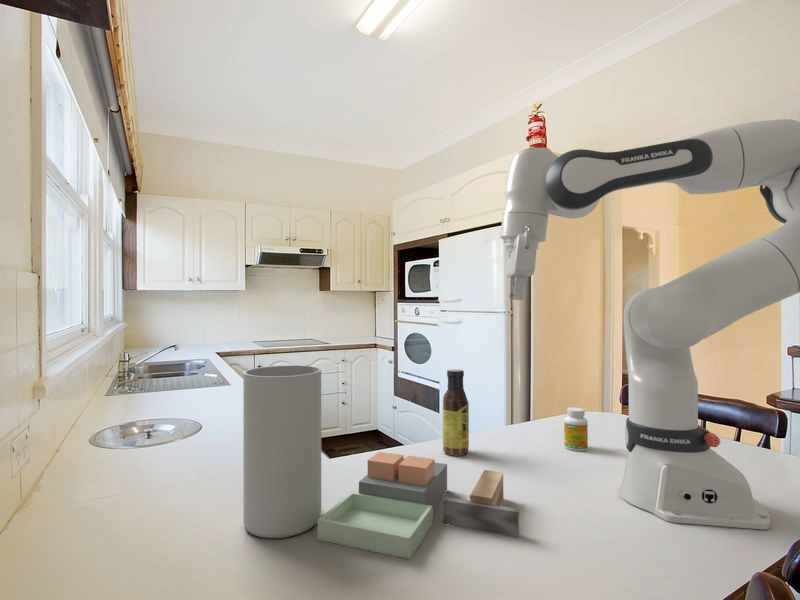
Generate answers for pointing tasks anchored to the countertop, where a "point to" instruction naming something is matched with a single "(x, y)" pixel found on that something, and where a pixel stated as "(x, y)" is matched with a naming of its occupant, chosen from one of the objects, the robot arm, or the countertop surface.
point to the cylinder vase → (281, 450)
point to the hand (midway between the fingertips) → (515, 299)
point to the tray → (376, 524)
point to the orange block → (384, 466)
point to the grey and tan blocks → (483, 508)
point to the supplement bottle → (576, 430)
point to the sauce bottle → (455, 415)
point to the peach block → (416, 470)
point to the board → (408, 488)
